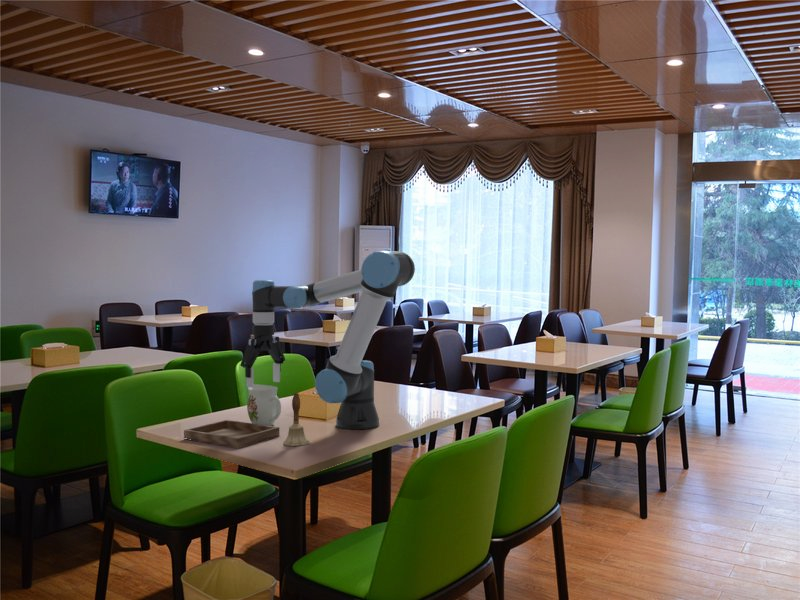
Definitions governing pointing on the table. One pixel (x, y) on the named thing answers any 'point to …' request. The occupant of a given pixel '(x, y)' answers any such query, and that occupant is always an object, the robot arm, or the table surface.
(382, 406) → the table surface
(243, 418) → the table surface
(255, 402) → the pitcher
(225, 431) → the tray
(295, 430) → the hand bell
